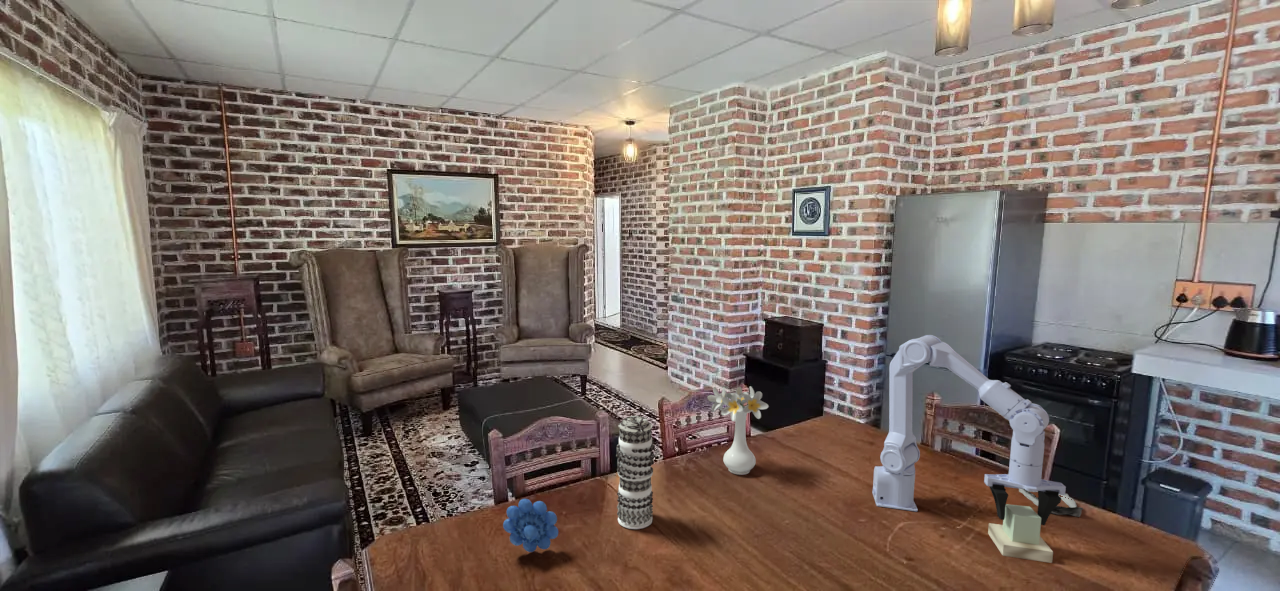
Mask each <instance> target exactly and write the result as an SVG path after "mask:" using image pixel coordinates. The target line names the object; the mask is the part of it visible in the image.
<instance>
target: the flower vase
mask: <svg viewBox="0 0 1280 591" xmlns="http://www.w3.org/2000/svg"><path fill="white" fill-rule="evenodd" d="M712 390H713V391H712V392H713V395H712V394H709V395H708V396H707V400H708V401H709V402H710V403H713V404H712V407H711V412H712V413H715V412H716V411H717V410H718V409H719V411H721V412H720V414H721V416H728V415H729V414H730V420H731V422H734V423H735V424H734V434H733V436H734V438H733V442H732V444H731V445H730V447H729V449H727V451H725V452H724V455H723V458H722V460H723V463H724V465H725V467H726V468H728V472H730V473H731V474H734V475H738V476H741V475H747V474H749V473H750V472H751V470H752V469H753V468H754V467H755V465H756V461H757V460H756V457H755V455H754V453H753V452H752V451H751V450H750V448H749V446H748V443H747V438H746V435H747V434H746V422H747V414H750V413H751V412H752V414H753V415H754V417H755V418H756V419H758V420H760V419H761V418H762V413H761V411H760V410H767V409H768V408H769V407H770V406H769V404H768V403H766V402H764V401H762V400H761V399H762V398H763V393H762V392H761V391H756V392H755V390H754V388H753V386H749V391H744V392H743V388H742V387H741V386H737V388H736V390H735V392H727V390H726V388H725V386H723V388H722V390H721V391H722V392H719V391H718V389H717V387H716V386H713V388H712ZM745 404H746V405H745ZM723 406H725V407H723Z"/></svg>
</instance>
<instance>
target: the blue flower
mask: <svg viewBox="0 0 1280 591" xmlns="http://www.w3.org/2000/svg"><path fill="white" fill-rule="evenodd" d="M517 504H518V506H517V505H510V506H508V507H507V509H506V516H507V518H506V519H505V520H504V521H503V524H502V527H503V529H504V531H505V532H507V533H509V534H510V535H509V542H510V543H511V544H512V545H514V546H516V547H517V546H521V545H522V548H523V550H525V552H526V551H527V552H528V553H533V552H535V551H536V550H537V548H539V549H540V550H547V549H549V548H550V546H551V540H553V539H556V538H557V537H558V536H559V529H558V527H557V526H556V524H557V521H558V516H557V515H556V513H555V512H554V511H552V510H551V511H550V510H549V511H548V507H547V504H546V503H545V502H544V501H541V500H537V501H535V502H532V501H531V500H530V499H528V498H522V499H520V500H519V502H518V503H517Z"/></svg>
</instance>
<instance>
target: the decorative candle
mask: <svg viewBox="0 0 1280 591" xmlns="http://www.w3.org/2000/svg"><path fill="white" fill-rule="evenodd" d="M617 427H618V428H619V436H618V444H617V445H616V449H615V450H616V454H615V457H616V458H617V461H616V466H617V468H616V471H617V475H618V477H619V479H618V480H619V484H618V489H617V490H618V491H617V493H616V496H618V497H617V500H616V501H617V506H616V509H617V513H616V515H617V522H618V524H619V525H620V526H622V527H623V528H626V529H629V530H640V529H645V528H647V527H649V526H650V525H651V524H652V523H653V513H654V511H653V510H654V509H653V507H654V506H653V500H654V499H653V496H654V495H653V494H654V491H652V490H653V489H652V485H653V484H652V476H653V475H654V468H653V467H652V466H653V465H654V463H655V460H654V459H653V458H655V454H654V452H653V451H655V449H656V448H655V447H656V446H655V445H654V442H655V440H653V437H652V428H653V423H651V422H650V421H649V420H648V419H647V418H646V417H644V416H641V415H640V416H639V415H631V416H627V417H625V418H623V419H622V421H621V422H619V423H618V425H617Z"/></svg>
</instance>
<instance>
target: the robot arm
mask: <svg viewBox="0 0 1280 591" xmlns="http://www.w3.org/2000/svg"><path fill="white" fill-rule="evenodd" d="M929 362H930V363H929ZM926 363H929V366H930V367H936V368H937V367H938V368H945V369H948V370H949V371H950V372H952V373H953V374H954V375H956V376H958V377H959V378H960V379H962V380H963V381H964V382H965V383H967V384H969V385H970V386H971V387H972V388H975V389H976V390H977V391H978V394H979V399H980V400H981V401H983V402H984V403H985V404H986V405H988V406H989V407H990V409H991V408H992V409H993V410H994V411H995V412H996V413H998V414H999V415H1000V416H1001V417H1003V418H1004V419H1005V420H1008V422H1009V426H1010V428H1011V429H1012V437H1011V441H1010V442H1011V443H1010V455H1009V463H1008V464H1009V465H1008V466H1009V467H1008V473H1007V474H1006V473H1004V474H1002V473H1001V474H999V473H998V474H991V473H990V474H988V473H984V480H983V483H984V484H985V485H986V486H987V487H988V488H989V489H990V492H991V494H992V497H993V500H994V504H995V508H996V516H997V517H998V518H999V520H1001V521H1003V520H1004V518H1005V506H1006V504H1007V502H1008V497H1009V494H1008V493H1007V491H1006V490H1007V489H1006V488H1011V489H1012V488H1013V489H1018V490H1019V489H1025V490H1027V491H1028V492H1029V491H1033V492H1032V493H1037V496H1038V506H1037V512H1036V513H1037V514H1038V515H1039V516H1040V517H1041V526H1046V524H1047V522H1048V519H1049V517H1050V515H1051V514H1052V513H1051V512H1052V511H1053V509H1054V508H1055V507H1056V506H1059V505H1060V504H1061V501H1062V499H1061V497H1060V496H1059V495H1065V494H1066V490H1067V489H1066V488H1067V486H1066V485H1064V484H1063V483H1062V482H1059V481H1052V480H1047V479H1043V478H1042V472H1043V464H1044V455H1045V454H1044V452H1045V434H1046V432H1045V429H1046V428H1047V427H1048V426H1049V423H1050V416H1049V414H1048V412H1047V411H1046V410H1045V409H1044V408H1043V407H1042V406H1041V405H1039V404H1037V403H1032V401H1031V400H1029V399H1028V398H1027V399H1025V398H1023V397H1022V396H1021V395H1020V394H1018V393H1017V392H1016V391H1015V390H1013V389H1012V388H1011V387H1012V385H1011V384H1010V383H1008V382H1006V381H1005V382H1002V381H1001V380H998V379H989V378H988V377H987V376H985V375H984V373H982V372H981V371H980V370H978V369H977V368H976V367H975V366H973V364H971V363H970V362H968V361H967V360H966V358H964V357H963V356H962V355H960V354H959V353H958V352H956V351H955V350H954V349H953V348H952V347H951V346H950V344H948V343H947V342H945V341H942V340H941V339H940V338H939V337H937V336H935V335H933V334H925V335H922V336H921V337H917V338H912V339H909V340H908V341H906V342H904V343H902V344H901V345H899V348H898V350H897V351H896V353H895V355H894V356H893V358H892V360H891V361H890V363H889V372H888V373H889V375H888V376H889V379H888V380H889V381H888V383H889V384H888V385H889V387H888V388H889V390H888V391H889V392H888V393H889V396H888V397H889V398H888V399H889V401H888V402H889V403H888V404H889V406H888V410H889V412H888V413H889V414H888V415H889V419H888V420H889V423H888V425H889V426H888V429H889V430H888V434H887V436H886V437H885V440H884V442H883V446H884V447H883V449H882V451H881V452H880V456H879V457H880V463H881V464H882V465H880V466H879V465H875V466H874V469H873V482H872V484H873V485H872V491H871V492H872V496H873V499H874V502H875V506H876V507H880V508H881V507H883V508H889V509H895V510H896V509H897V510H903V511H910V512H918V507H917V504H916V503H915V501H914V494H915V480H916V468H915V463H917V462H918V461H919V459H920V457H921V451H920V449H919V447H918V444H917V437H916V436H915V434H914V433H913V405H914V404H913V401H914V400H913V398H914V397H913V392H914V390H913V388H914V387H913V382H914V381H913V380H914V378H913V376H914V375H913V373H914V372H915V371H916V370H918V369H919V368H920V367H922V366H923V365H925V364H926ZM1037 491H1038V492H1037Z"/></svg>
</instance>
